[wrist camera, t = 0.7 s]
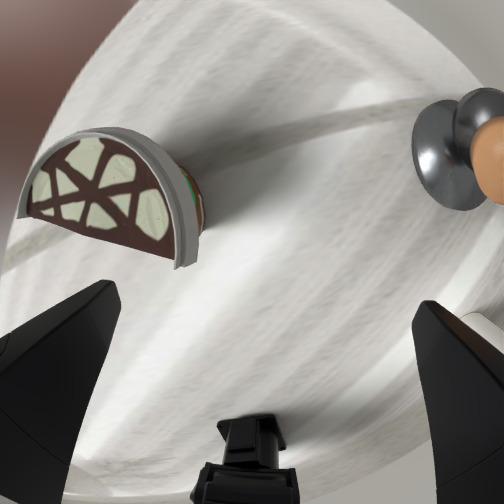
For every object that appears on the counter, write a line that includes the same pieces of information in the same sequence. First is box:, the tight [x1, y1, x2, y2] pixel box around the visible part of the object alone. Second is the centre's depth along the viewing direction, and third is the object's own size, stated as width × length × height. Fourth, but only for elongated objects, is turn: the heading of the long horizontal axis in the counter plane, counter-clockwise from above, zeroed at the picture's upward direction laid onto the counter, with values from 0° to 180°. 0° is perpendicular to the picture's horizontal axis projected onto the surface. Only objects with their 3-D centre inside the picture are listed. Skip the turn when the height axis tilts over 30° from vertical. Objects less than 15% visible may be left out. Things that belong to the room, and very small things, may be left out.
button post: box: [412, 88, 504, 211], centre depth 16 cm, size 10×10×8 cm
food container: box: [16, 127, 205, 270], centre depth 17 cm, size 12×6×10 cm, turn 76°
